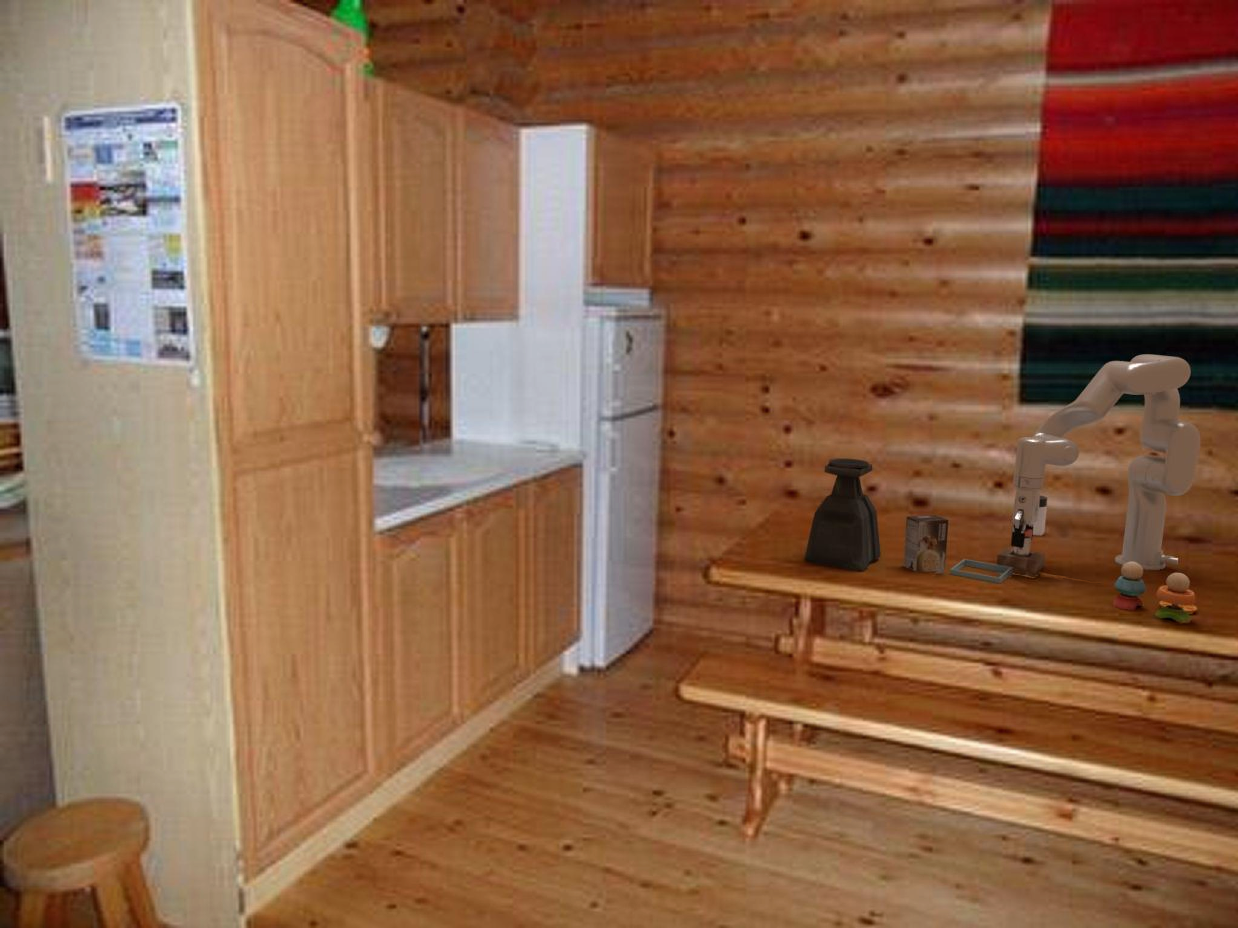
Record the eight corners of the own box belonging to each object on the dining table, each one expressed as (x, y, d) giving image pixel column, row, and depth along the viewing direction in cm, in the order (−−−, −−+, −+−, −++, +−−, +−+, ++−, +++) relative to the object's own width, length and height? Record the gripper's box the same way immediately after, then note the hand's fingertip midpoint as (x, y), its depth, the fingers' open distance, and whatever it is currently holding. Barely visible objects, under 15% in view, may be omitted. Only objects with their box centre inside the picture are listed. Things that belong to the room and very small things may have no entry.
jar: (1010, 530, 308) (1013, 495, 306) (1027, 528, 312) (1030, 493, 310) (1033, 537, 300) (1037, 500, 298) (1050, 534, 304) (1054, 498, 302)
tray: (1011, 576, 257) (1012, 567, 257) (999, 587, 247) (1000, 578, 246) (963, 567, 265) (963, 558, 264) (949, 578, 254) (949, 569, 254)
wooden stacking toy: (1205, 615, 229) (1212, 565, 226) (1187, 632, 216) (1194, 580, 214) (1125, 597, 241) (1130, 550, 239) (1103, 613, 229) (1108, 563, 226)
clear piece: (1028, 570, 262) (1034, 529, 260) (1024, 574, 259) (1029, 532, 257) (1014, 567, 265) (1019, 526, 262) (1009, 571, 262) (1014, 529, 259)
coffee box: (931, 570, 261) (935, 514, 258) (945, 577, 255) (949, 519, 252) (901, 572, 258) (906, 515, 256) (915, 579, 252) (919, 521, 250)
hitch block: (1042, 570, 263) (1044, 553, 262) (1034, 578, 255) (1036, 560, 254) (1005, 563, 269) (1006, 546, 268) (996, 571, 261) (997, 554, 260)
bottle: (824, 556, 273) (830, 454, 268) (880, 565, 265) (888, 460, 260) (802, 571, 258) (808, 463, 253) (861, 581, 250) (869, 470, 245)
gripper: (1035, 489, 248) (1028, 552, 252) (1049, 480, 262) (1042, 539, 265) (1005, 485, 253) (999, 547, 256) (1021, 476, 267) (1014, 535, 270)
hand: (1021, 543), depth 261 cm, fingers open, 9 cm apart
